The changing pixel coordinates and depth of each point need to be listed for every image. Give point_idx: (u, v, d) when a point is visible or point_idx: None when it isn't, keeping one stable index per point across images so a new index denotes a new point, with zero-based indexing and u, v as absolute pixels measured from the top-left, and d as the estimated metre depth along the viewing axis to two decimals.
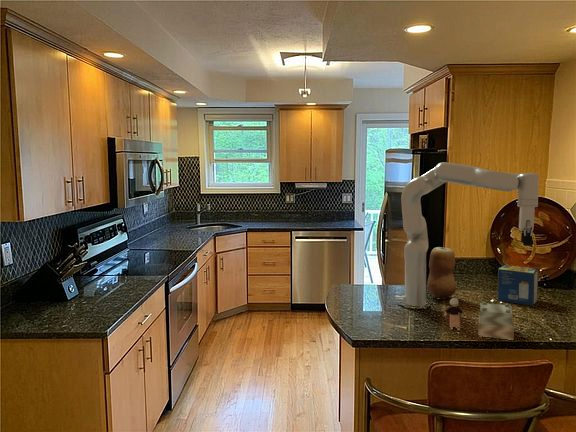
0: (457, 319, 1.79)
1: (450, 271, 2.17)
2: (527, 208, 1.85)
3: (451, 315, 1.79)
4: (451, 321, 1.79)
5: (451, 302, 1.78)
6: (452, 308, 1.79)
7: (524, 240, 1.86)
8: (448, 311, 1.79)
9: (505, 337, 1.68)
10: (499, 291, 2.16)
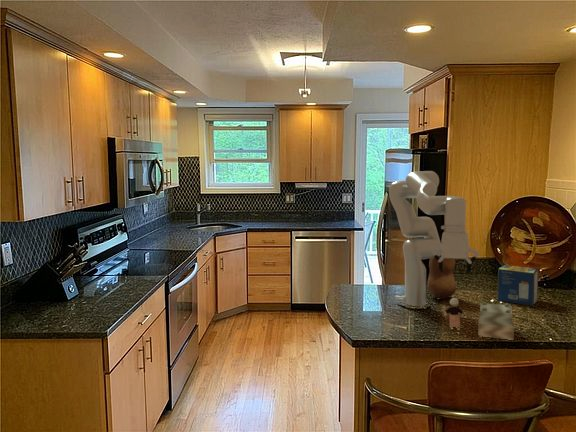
0: (457, 319, 1.79)
1: (450, 271, 2.17)
2: (467, 234, 1.74)
3: (451, 315, 1.79)
4: (451, 321, 1.79)
5: (451, 302, 1.78)
6: (452, 308, 1.79)
7: (468, 268, 1.74)
8: (448, 311, 1.79)
9: (505, 337, 1.68)
10: (499, 291, 2.16)
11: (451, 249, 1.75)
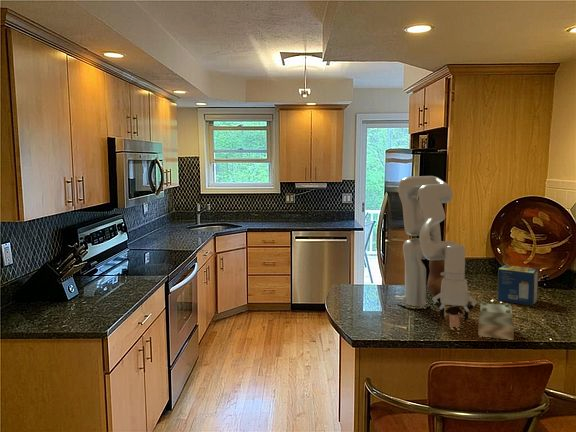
0: (457, 319, 1.79)
1: None
2: (466, 281, 1.76)
3: (451, 315, 1.79)
4: (451, 321, 1.79)
5: None
6: (452, 308, 1.79)
7: (466, 316, 1.77)
8: (448, 311, 1.79)
9: (505, 337, 1.68)
10: (499, 291, 2.16)
11: (450, 296, 1.77)
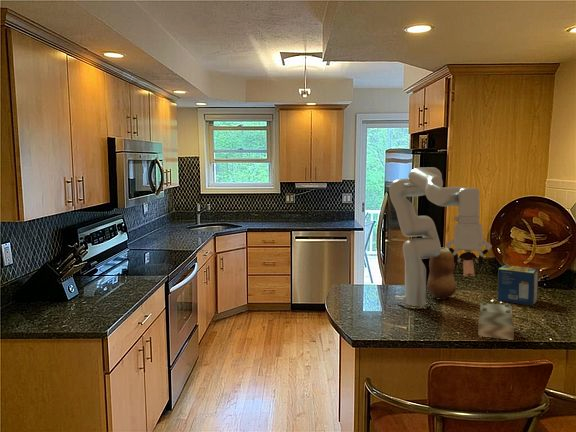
0: (471, 265, 1.75)
1: (450, 271, 2.17)
2: None
3: (465, 261, 1.75)
4: (465, 267, 1.75)
5: None
6: (466, 253, 1.75)
7: (480, 261, 1.73)
8: (462, 257, 1.75)
9: (505, 337, 1.68)
10: (499, 291, 2.16)
11: (464, 240, 1.73)
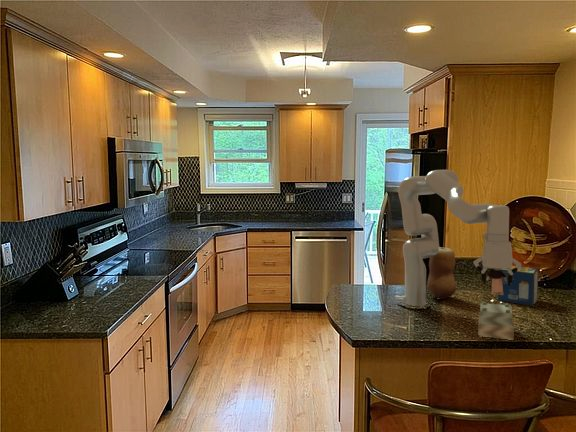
0: (500, 283, 1.71)
1: (450, 271, 2.17)
2: (510, 243, 1.69)
3: (493, 279, 1.72)
4: (493, 285, 1.72)
5: None
6: (495, 272, 1.71)
7: (510, 280, 1.69)
8: (490, 275, 1.72)
9: (505, 337, 1.68)
10: None
11: (493, 259, 1.69)
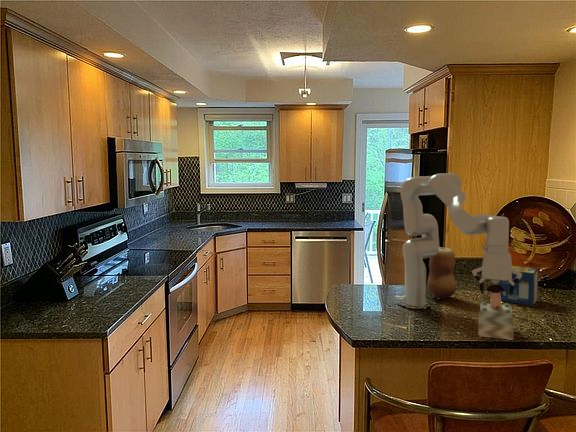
0: (498, 297, 1.72)
1: (450, 271, 2.17)
2: (510, 255, 1.69)
3: (492, 293, 1.73)
4: (492, 299, 1.73)
5: (492, 280, 1.72)
6: (493, 286, 1.72)
7: (511, 290, 1.70)
8: (489, 289, 1.73)
9: (505, 337, 1.68)
10: None
11: (493, 270, 1.70)
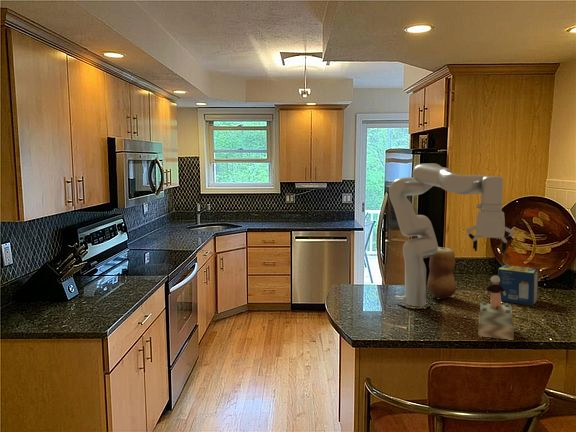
0: (498, 297, 1.72)
1: (450, 271, 2.17)
2: (503, 213, 1.74)
3: (492, 293, 1.73)
4: (492, 299, 1.73)
5: (492, 280, 1.72)
6: (493, 286, 1.72)
7: (503, 247, 1.74)
8: (489, 289, 1.73)
9: (505, 337, 1.68)
10: None
11: (486, 228, 1.75)
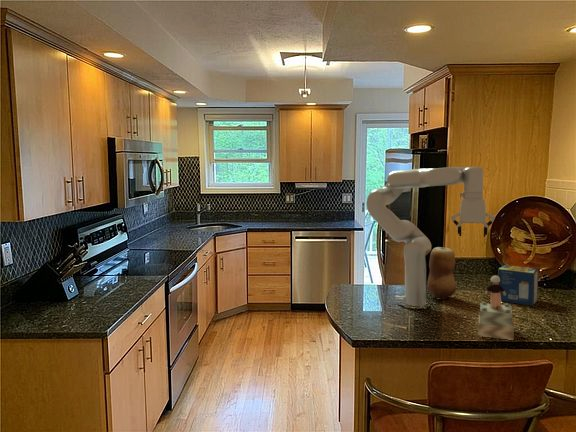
0: (498, 297, 1.72)
1: (450, 271, 2.17)
2: (484, 200, 1.91)
3: (492, 293, 1.73)
4: (492, 299, 1.73)
5: (492, 280, 1.72)
6: (493, 286, 1.72)
7: (485, 231, 1.91)
8: (489, 289, 1.73)
9: (505, 337, 1.68)
10: None
11: (469, 214, 1.92)
